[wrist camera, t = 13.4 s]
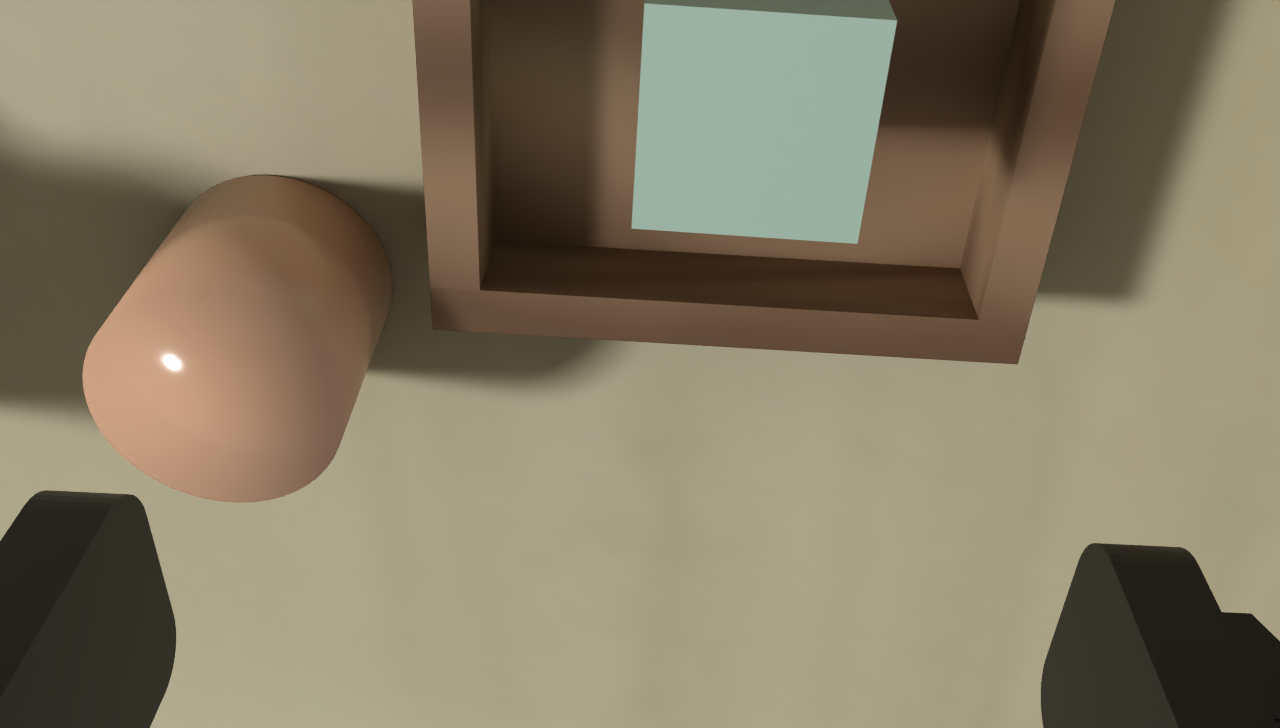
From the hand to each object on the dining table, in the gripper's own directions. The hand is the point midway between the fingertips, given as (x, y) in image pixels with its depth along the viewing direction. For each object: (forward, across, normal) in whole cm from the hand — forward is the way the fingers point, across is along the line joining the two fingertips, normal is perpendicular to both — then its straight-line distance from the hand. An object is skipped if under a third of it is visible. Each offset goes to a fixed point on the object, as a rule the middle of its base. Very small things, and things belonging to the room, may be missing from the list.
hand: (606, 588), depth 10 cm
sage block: (+20, -2, +2) cm, 20 cm away
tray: (+21, -2, +2) cm, 21 cm away
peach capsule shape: (+21, +10, +10) cm, 25 cm away
